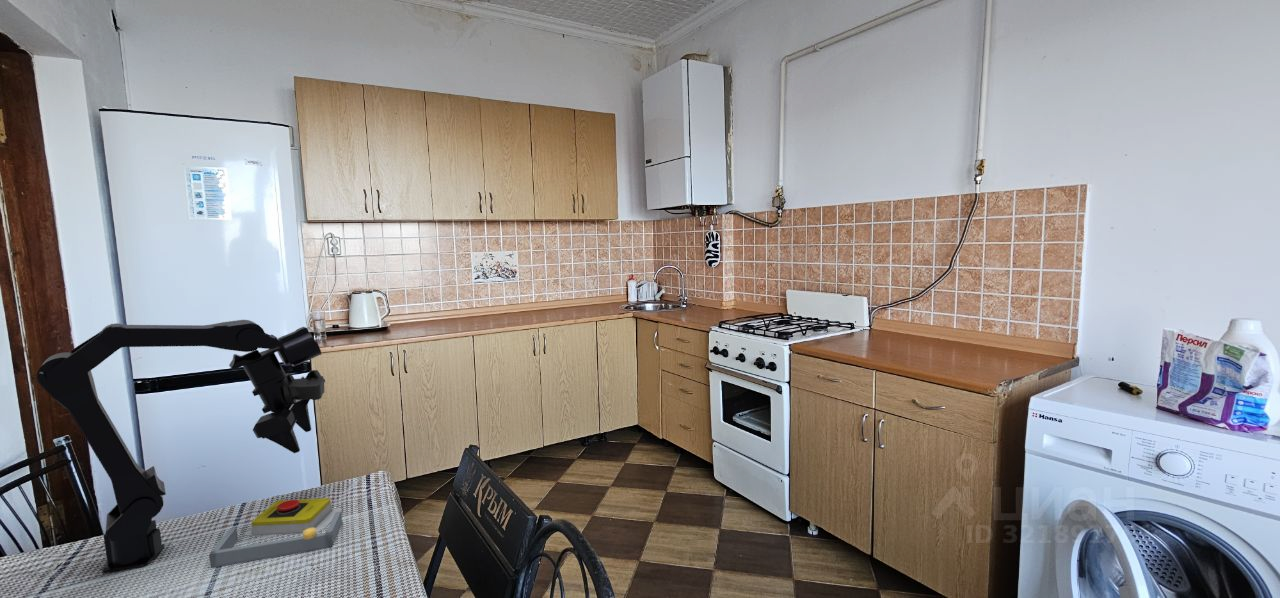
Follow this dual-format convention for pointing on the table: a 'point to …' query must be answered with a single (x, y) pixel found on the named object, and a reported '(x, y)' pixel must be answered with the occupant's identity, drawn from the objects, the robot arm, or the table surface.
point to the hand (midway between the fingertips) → (303, 441)
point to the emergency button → (293, 517)
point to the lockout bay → (273, 545)
